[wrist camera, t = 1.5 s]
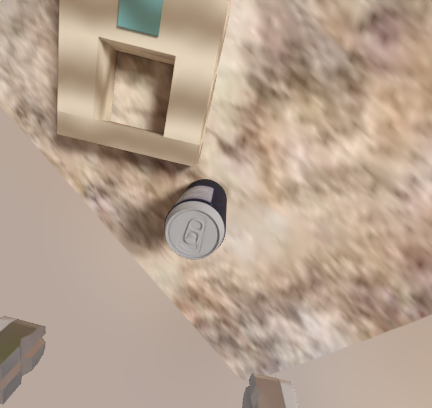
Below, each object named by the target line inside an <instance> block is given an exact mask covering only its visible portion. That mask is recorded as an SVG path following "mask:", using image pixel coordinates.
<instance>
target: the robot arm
mask: <svg viewBox="0 0 432 408" xmlns="http://www.w3.org/2000/svg"><path fill="white" fill-rule="evenodd" d="M45 333H46V332H45V326H41V325H38V324H34V323H30V322H26V321H22V320H19V319H14V318H10V317H6V316H4V317H1V318H0V404H4V403H5V402H6V400H7V399H8V398H9V397H10V396H11V394H12V393H13V392H14V391H15V390H16V389H17V387H18V386H19V385H20V384H21V379H22V376H23V375H25V374H27V373H28V372H30V371H32V370H33V368H34V367H35V366H36V365H37V363H38V362H39V360H40V359H41V357H42V355H43V353H44V350H45V341H44V340H43V338H42V336H43V335H44V334H45ZM249 384H250V386H248V387H246V389H245V392H244V397H243V406H242V408H299V407H298V403H297V399H296V395H295V391H294V388H293V385H292V383H291V382H290V381H285V380H281V379H277V378H273V377H269V376H264V375H259V374H254V373H252V374H251V376H250V379H249Z"/></svg>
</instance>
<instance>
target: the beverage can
mask: <svg viewBox="0 0 432 408" xmlns="http://www.w3.org/2000/svg"><path fill="white" fill-rule="evenodd" d="M226 205H227V198H226V194H225V191H224V190H223V188H222V187H221V186H220V185H219V184H218V183H216V182H215V181H212V180H208V179H202V180H198V181H195V182H194V183H192V184H191V185H190V186H189V187H188V188H187V190H186V191H185V192H184V193H183V195H182V196H181V197H180V199H179V200H178V201H177V202H176V204H175V205H174V206H173V208H172V209H171V210H170V211H169V213H168V215H167V217H166V220H165V236H166V240H167V243H168V245H169V247H170V248H171V249H172V250H173V251H174V252H175V253H176V254H177V255H179V256H181V257H183V258H186V259H191V260H197V259H203V258H205V257H208V256H209V255H211V254H212V253H213V252H214V251H215V250H216V249H217V248H218V247H219V246H220V245H221V243H222V242H223V240H224V237H225V231H226Z"/></svg>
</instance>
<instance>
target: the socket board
mask: <svg viewBox="0 0 432 408" xmlns="http://www.w3.org/2000/svg"><path fill="white" fill-rule="evenodd" d="M229 13H230V0H59V51H58V103H57V134H59V135H63V136H67V137H72V138H76V139H80V140H84V141H88V142H92V143H97V144H101V145H105V146H109V147H113V148H117V149H121V150H126V151H130V152H134V153H138V154H142V155H146V156H151V157H155V158H159V159H163V160H167V161H171V162H176V163H180V164H184V165H188V166H192V167H195V166H196V165H197V164H198V163H199V158H200V153H201V149H202V144H203V139H204V134H205V129H206V124H207V120H208V115H209V110H210V105H211V100H212V95H213V91H214V86H215V81H216V76H217V71H218V66H219V62H220V57H221V52H222V47H223V42H224V37H225V33H226V28H227V23H228V18H229ZM117 51H120V52H124V53H128V54H132V55H136V56H140V57H144V58H148V59H152V60H156V61H160V62H164V63H168V64H173V65H174V72H173V78H172V84H171V91H170V97H169V104H168V110H167V117H166V123H165V130H164V134H160V133H156V132H152V131H148V130H144V129H140V128H135V127H131V126H127V125H123V124H119V123H115V122H111V114H112V102H113V91H114V79H115V68H116V56H117Z"/></svg>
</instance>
